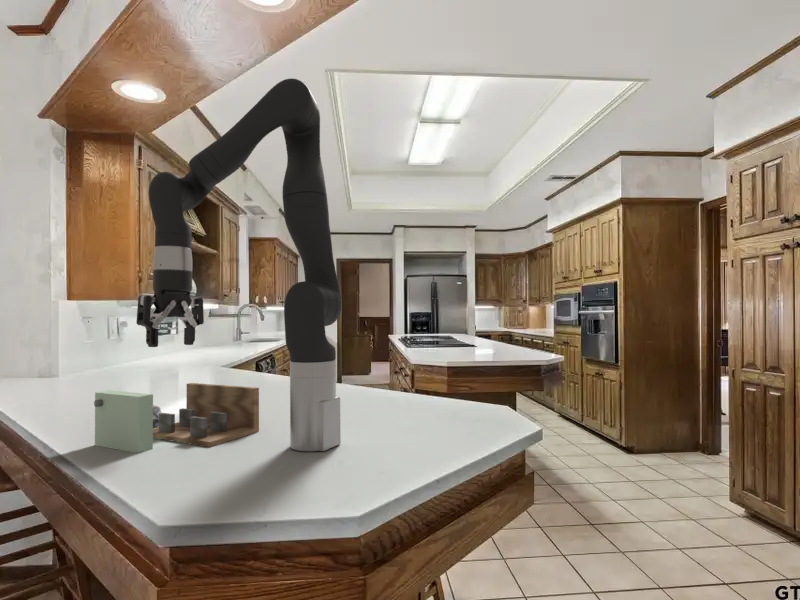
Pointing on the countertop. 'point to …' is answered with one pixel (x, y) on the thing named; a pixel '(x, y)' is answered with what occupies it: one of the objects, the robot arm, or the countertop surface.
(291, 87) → the robot arm
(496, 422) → the countertop surface
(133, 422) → the cabinet door
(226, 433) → the hinge base
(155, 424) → the mineral specimen
